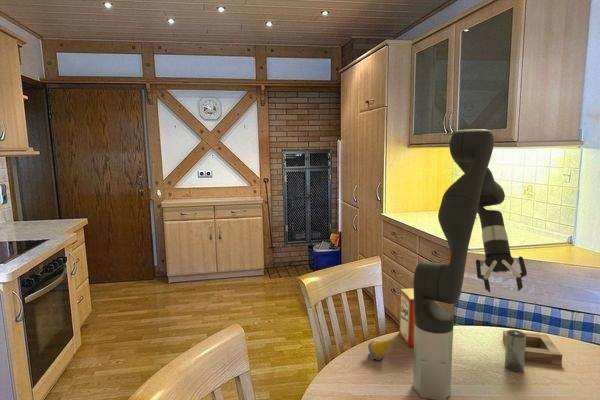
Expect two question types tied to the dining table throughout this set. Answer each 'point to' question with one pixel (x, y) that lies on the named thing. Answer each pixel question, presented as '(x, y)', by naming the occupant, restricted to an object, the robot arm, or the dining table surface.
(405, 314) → the baking soda box
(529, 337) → the frame
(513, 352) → the metal tea canister
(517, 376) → the dining table surface
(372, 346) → the yellow cone tip
